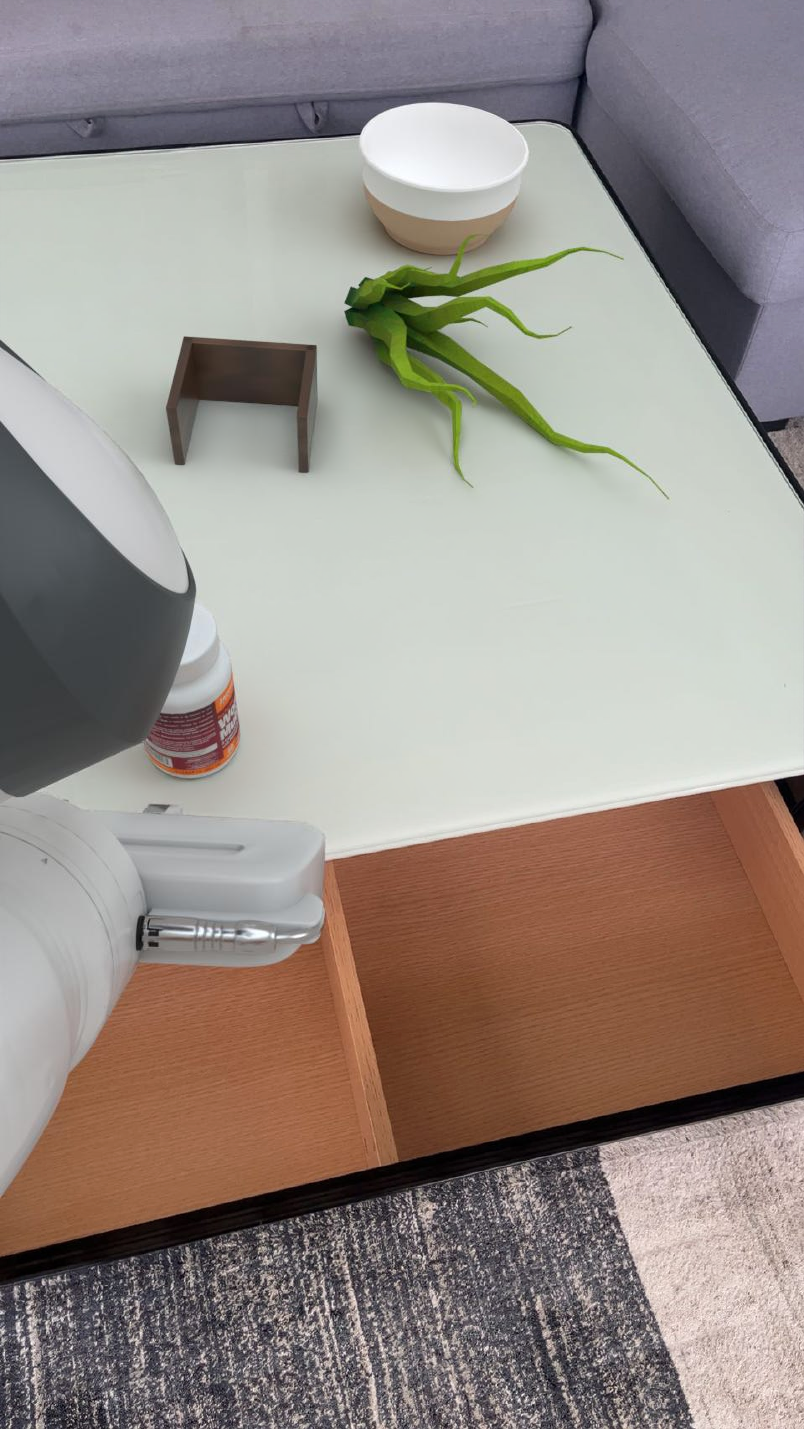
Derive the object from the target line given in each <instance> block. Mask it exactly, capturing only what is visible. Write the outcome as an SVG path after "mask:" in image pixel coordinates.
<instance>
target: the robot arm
mask: <svg viewBox="0 0 804 1429" xmlns="http://www.w3.org/2000/svg"><path fill="white" fill-rule="evenodd" d="M196 597H197V585H196V580H195V576H194V573H193V570H192V567H191V564H190V562H189V561H188V558H187V556H186V554H185V552H184V550H183V548H182V547H181V543H180V541H179V538H178V536H177V533H176V530H175V528H174V527H173V524H172V522H171V520H170V516H169V515H168V512H166V510H165V508H164V506H163V504H162V503H161V501H160V498H159V497H158V495H157V494H156V492H155V491H154V489H153V487H152V486H151V485H150V483H149V482H148V480H147V478H146V477H145V476H144V474H143V473H142V472H141V471H140V469H139V468H138V467H137V465H136V464H135V463H134V461H133V460H132V459H131V457H130V456H129V455H128V454H127V453H126V452H125V450H123V448H122V447H121V446H120V445H119V444H118V443H117V442H116V441H115V440H114V439H113V437H112V436H111V435H110V434H109V433H108V432H107V431H106V430H105V429H104V428H103V427H102V426H100V425H99V424H98V422H96V421H95V419H93V418H92V417H91V416H90V415H88V414H87V413H86V412H85V411H84V410H83V409H81V407H79V405H77V404H76V403H74V402H73V401H72V400H71V399H70V398H69V397H67V396H66V395H65V394H64V393H62V392H61V391H60V390H59V389H57V388H56V387H54V386H53V385H52V384H51V383H50V382H48V381H47V380H46V379H45V378H44V377H43V376H42V375H41V374H39V373H38V372H37V371H36V370H35V369H34V368H33V367H32V366H31V365H30V364H28V363H27V361H25V360H24V359H23V357H21V356H20V355H18V354H17V353H16V352H15V351H14V350H13V349H12V348H11V347H10V346H8V344H6V343H5V342H4V341H3V340H2V339H0V1199H1V1198H2V1196H3V1195H4V1194H5V1192H6V1191H7V1189H8V1188H9V1187H10V1185H11V1184H12V1183H13V1181H14V1180H15V1178H16V1176H17V1175H18V1173H20V1170H21V1169H22V1167H23V1166H24V1164H25V1163H26V1161H27V1159H28V1158H29V1157H30V1155H31V1153H32V1151H33V1150H34V1148H35V1146H36V1145H37V1143H38V1142H39V1140H40V1138H41V1136H42V1135H43V1133H44V1131H45V1130H46V1129H47V1126H48V1125H49V1123H50V1121H51V1119H52V1117H53V1115H54V1113H55V1112H56V1109H57V1107H58V1105H59V1103H60V1100H61V1099H62V1096H63V1093H64V1090H65V1088H66V1084H67V1080H68V1078H69V1074H70V1073H71V1072H72V1071H73V1070H74V1069H75V1068H76V1067H77V1065H78V1064H80V1063H81V1062H82V1060H83V1059H84V1058H85V1056H86V1055H87V1053H88V1052H89V1051H90V1049H91V1048H92V1046H93V1045H94V1044H95V1042H96V1041H97V1039H98V1036H99V1034H100V1032H101V1031H102V1029H103V1028H104V1026H105V1025H106V1023H107V1022H108V1019H109V1018H110V1016H111V1014H112V1012H113V1011H114V1009H115V1007H116V1005H117V1003H118V1002H119V1000H120V998H121V997H122V995H123V993H124V991H125V990H126V988H127V986H128V985H129V983H130V981H131V979H132V977H133V975H134V973H135V972H136V969H137V968H138V965H139V964H140V963H142V964H143V963H144V964H160V965H161V964H163V965H164V964H165V965H182V966H202V967H203V966H204V967H222V968H223V967H225V968H256V967H257V968H258V967H266V966H270V965H275V964H278V963H280V962H282V961H285V960H286V959H288V958H290V957H291V956H293V954H294V953H296V952H297V950H298V949H300V947H301V946H302V945H311V944H314V943H315V942H317V941H318V940H319V938H320V937H321V934H322V931H323V930H324V928H325V923H326V922H325V921H326V915H327V911H326V908H325V906H324V902H323V894H324V885H325V884H324V883H325V870H326V835H325V833H324V831H323V830H322V829H320V828H318V827H317V826H315V825H313V824H309V823H307V822H305V821H299V820H298V821H297V820H280V819H264V818H263V819H262V818H245V817H244V818H242V817H227V816H226V817H225V816H224V817H223V816H209V815H207V816H206V815H191V814H189V815H188V814H187V815H186V814H183V806H182V805H181V804H165V803H164V804H162V803H149V804H147V807H144V810H143V811H142V812H135V811H134V812H132V811H131V812H130V811H118V810H117V811H115V810H96V809H82V808H80V807H79V806H78V805H75V804H73V803H71V802H70V800H69V799H65V798H60V797H57V796H54V795H51V794H48V793H43V792H39V791H40V790H42V789H44V788H46V787H49V786H51V785H53V784H55V783H58V782H59V781H62V780H64V779H66V778H68V777H70V776H72V775H74V774H76V773H79V772H81V771H83V770H85V769H88V768H90V767H92V766H94V765H96V764H98V763H100V762H102V761H105V760H107V759H109V758H111V757H114V756H115V755H118V754H120V753H122V752H124V751H126V750H129V749H131V748H133V747H135V746H137V745H139V744H141V743H144V740H145V739H147V737H148V736H149V734H150V732H151V730H152V728H153V726H154V724H155V722H156V720H157V719H158V716H159V714H160V712H161V710H162V708H163V706H164V704H165V701H166V699H167V697H168V694H169V692H170V689H171V687H172V685H173V682H174V679H175V677H176V674H177V671H178V669H179V666H180V663H181V660H182V656H183V653H184V650H185V646H186V642H187V638H188V635H189V631H190V626H191V621H192V616H193V610H194V604H195V601H196Z"/></svg>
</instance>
